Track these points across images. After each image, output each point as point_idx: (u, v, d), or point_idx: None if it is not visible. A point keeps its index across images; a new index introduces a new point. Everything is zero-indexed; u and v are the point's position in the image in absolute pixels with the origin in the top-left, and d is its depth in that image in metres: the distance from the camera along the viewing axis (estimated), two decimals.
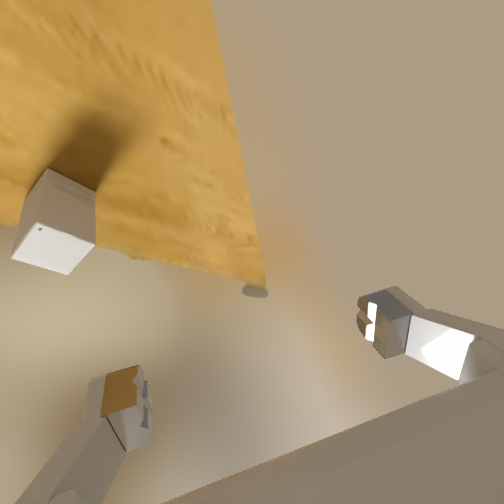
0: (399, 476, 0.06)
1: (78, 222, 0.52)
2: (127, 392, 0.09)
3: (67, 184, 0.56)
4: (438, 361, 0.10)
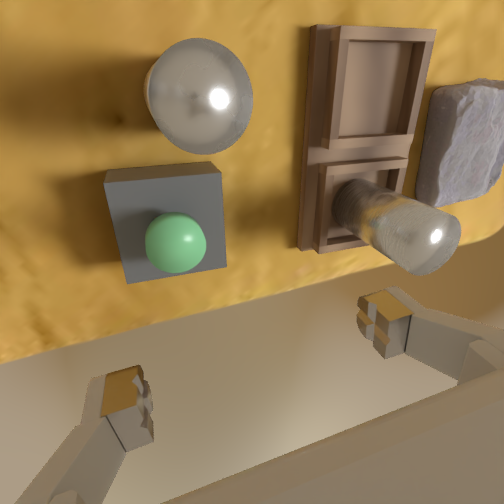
0: (399, 476, 0.06)
1: None
2: (127, 392, 0.09)
3: None
4: (438, 361, 0.10)
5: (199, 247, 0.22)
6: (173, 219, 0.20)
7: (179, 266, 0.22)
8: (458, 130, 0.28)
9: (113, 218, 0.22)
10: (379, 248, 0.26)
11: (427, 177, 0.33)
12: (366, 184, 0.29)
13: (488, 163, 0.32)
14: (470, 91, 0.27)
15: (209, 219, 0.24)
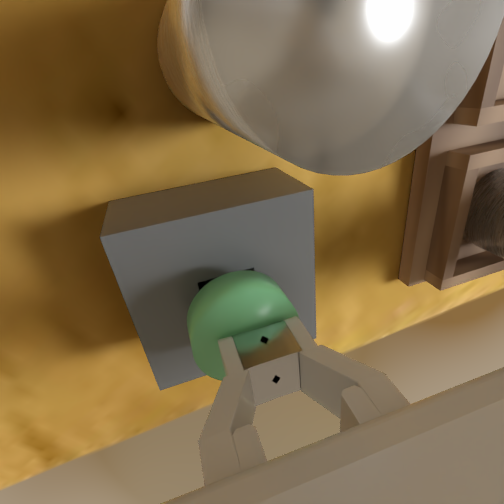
0: (399, 476, 0.06)
1: None
2: (260, 349, 0.10)
3: None
4: (328, 402, 0.10)
5: None
6: (241, 294, 0.10)
7: None
8: None
9: (126, 295, 0.12)
10: None
11: None
12: None
13: None
14: None
15: (290, 271, 0.14)
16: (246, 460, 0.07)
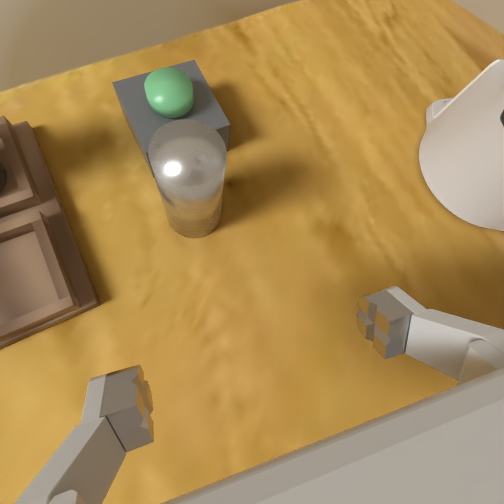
0: (399, 476, 0.06)
1: None
2: (127, 392, 0.09)
3: None
4: (438, 361, 0.10)
5: (150, 88, 0.26)
6: (178, 104, 0.26)
7: (161, 72, 0.27)
8: None
9: (217, 103, 0.29)
10: None
11: None
12: None
13: None
14: None
15: (143, 117, 0.28)
16: None
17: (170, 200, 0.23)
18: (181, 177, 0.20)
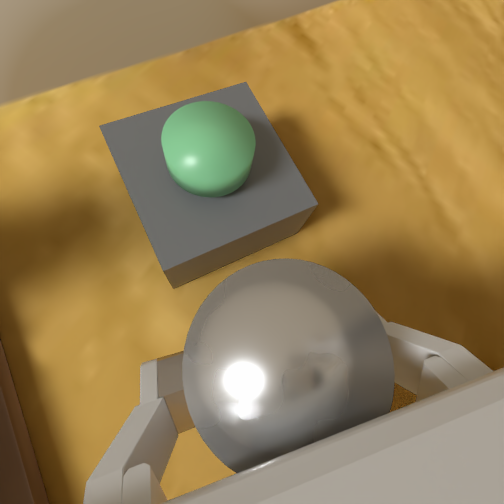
0: (399, 476, 0.06)
1: None
2: (180, 375, 0.09)
3: None
4: (399, 376, 0.10)
5: (173, 145, 0.13)
6: (229, 177, 0.13)
7: (195, 112, 0.14)
8: None
9: (291, 163, 0.16)
10: None
11: None
12: None
13: None
14: None
15: (157, 194, 0.15)
16: None
17: None
18: None
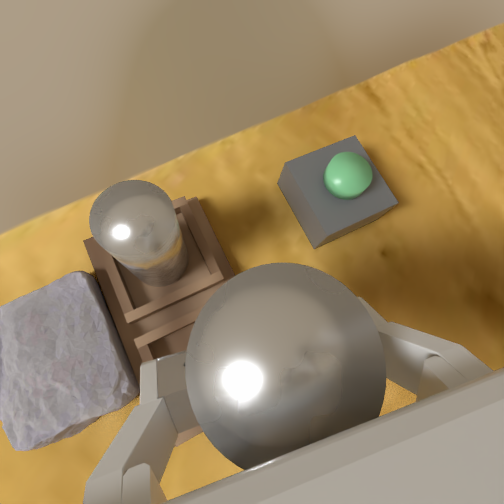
0: (399, 476, 0.06)
1: None
2: (180, 375, 0.09)
3: None
4: (399, 376, 0.10)
5: (334, 175, 0.27)
6: (362, 190, 0.27)
7: (342, 157, 0.28)
8: (112, 357, 0.24)
9: (383, 181, 0.30)
10: None
11: (102, 301, 0.27)
12: (172, 276, 0.26)
13: (22, 345, 0.24)
14: (119, 401, 0.23)
15: (319, 198, 0.29)
16: None
17: None
18: (282, 451, 0.07)
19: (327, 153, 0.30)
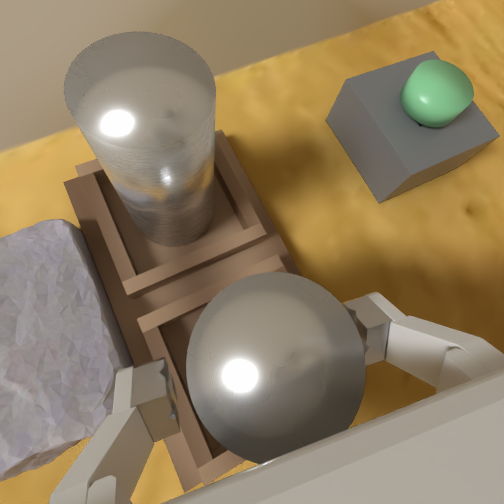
0: (399, 476, 0.06)
1: None
2: (155, 383, 0.09)
3: None
4: (417, 369, 0.10)
5: (423, 87, 0.19)
6: (462, 109, 0.19)
7: (430, 66, 0.20)
8: (104, 345, 0.15)
9: (476, 108, 0.22)
10: None
11: (93, 265, 0.18)
12: (194, 228, 0.18)
13: None
14: None
15: (395, 125, 0.21)
16: None
17: None
18: (271, 440, 0.08)
19: (400, 70, 0.22)
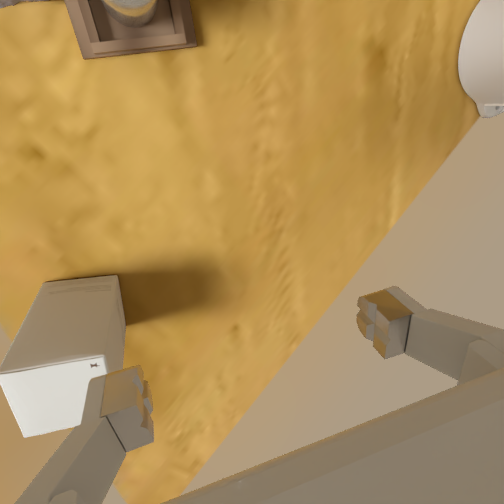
0: (399, 476, 0.06)
1: None
2: (127, 392, 0.09)
3: (120, 306, 0.41)
4: (438, 361, 0.10)
5: None
6: None
7: None
8: None
9: None
10: None
11: None
12: None
13: None
14: None
15: None
16: None
17: None
18: None
19: None
